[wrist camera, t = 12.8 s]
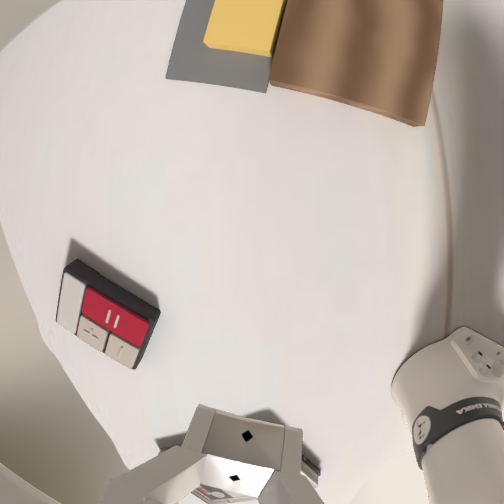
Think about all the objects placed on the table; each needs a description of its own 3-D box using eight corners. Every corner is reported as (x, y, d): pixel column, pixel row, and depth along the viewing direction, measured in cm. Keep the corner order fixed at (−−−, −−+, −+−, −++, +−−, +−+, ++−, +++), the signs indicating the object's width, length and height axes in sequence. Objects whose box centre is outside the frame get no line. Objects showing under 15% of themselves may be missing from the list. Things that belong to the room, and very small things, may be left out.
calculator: (133, 374, 43) (52, 324, 42) (143, 357, 47) (66, 310, 46) (153, 324, 39) (60, 268, 38) (163, 307, 43) (77, 257, 42)
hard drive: (320, 469, 51) (320, 487, 47) (213, 490, 59) (209, 504, 55) (270, 419, 47) (267, 440, 43) (159, 447, 56) (152, 463, 51)
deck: (432, 8, 24) (443, -2, 21) (413, 126, 30) (424, 125, 27) (300, -32, 25) (299, -46, 22) (271, 85, 31) (268, 79, 28)
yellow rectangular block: (291, -16, 26) (290, -26, 24) (271, 57, 30) (269, 51, 27) (230, -24, 26) (226, -33, 24) (209, 47, 30) (202, 41, 28)
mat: (296, -32, 25) (296, -34, 25) (265, 93, 31) (265, 92, 31) (201, -40, 26) (200, -41, 26) (166, 79, 32) (165, 78, 32)
